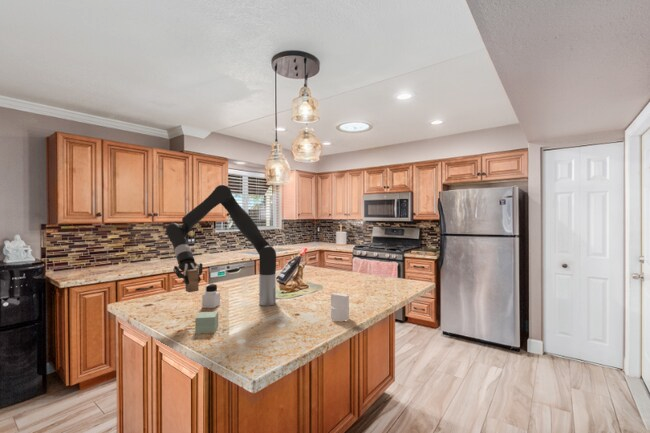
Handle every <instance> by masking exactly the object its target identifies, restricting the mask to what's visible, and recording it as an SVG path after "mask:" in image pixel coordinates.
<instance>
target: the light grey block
mask: <svg viewBox="0 0 650 433" xmlns="http://www.w3.org/2000/svg"><path fill="white" fill-rule="evenodd" d="M349 298H350V295H349V294H345V293H338V292H332V293H331V294H330V320H331V319H332V320H334V321H333V322H335V321H345V320H348V319H349V320H350V299H349ZM332 320H331V321H332ZM349 320H348V321H349Z"/></svg>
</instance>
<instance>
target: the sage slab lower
mask: <svg viewBox="0 0 650 433" xmlns="http://www.w3.org/2000/svg"><path fill="white" fill-rule="evenodd" d="M218 327H219V319H218V320H217V322H216V324H215V325H209V326H194V328H195V329H194V334H214V333H216V330H218Z"/></svg>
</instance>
